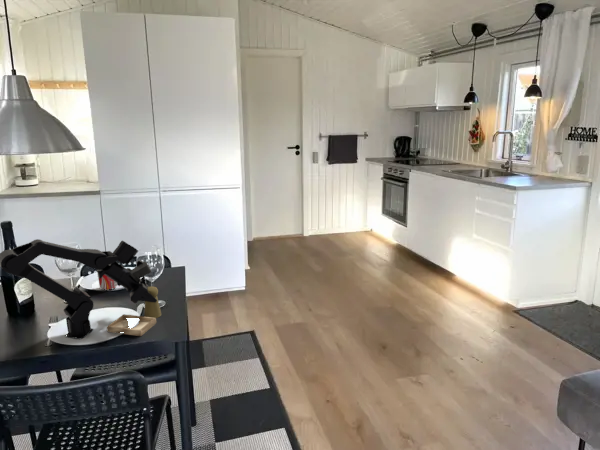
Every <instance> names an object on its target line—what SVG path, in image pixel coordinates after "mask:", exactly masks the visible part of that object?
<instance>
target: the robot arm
mask: <svg viewBox="0 0 600 450" xmlns="http://www.w3.org/2000/svg"><path fill="white" fill-rule="evenodd" d="M138 252H139V250H138V249H137V248H136V247H134V246H132V245H131V244H129V243H127V242H126V241H124V240H121V241H120V242H119V244H118V245H117V247H116V248H115V249H114V250H113V251H111V250H108V251H107V250H106V251H104V250H103V251H101V250H100V249H96V248H95V249H93V248H83V249H82V248H81V249H80V248H74V247H71V246H66V245H61V244H57V243H53V242H49V241H44V240H42V239H33V240H32V241H30V242H28V243H27V242H26V243H25V244H21V245H19V246H16V247H14V248H12V249H5V250H2V251H1V252H0V268H1V269H2V271H3V272H4V273H5V272H6V273H7V274H10V275H12V276H16V277H19V278H24V279H26V280H28V281H30V282H31V283H34V285H37V286H39V287H40V288H41V289H44V290H46V291H47V292H49V293H50V294H52V295H54V296H56V297H57V298H59V299H61V300H62V301H64V302H65V303H66V304H67V305H66V306H65V308H64V309H63V312H64V314H65V315H66V316H67V317H66V318H65V320H66V328H67V333H66V334H65V335H64V337H65V336H66V335H67V337H66V338H70V339H76V340H77V339H79V340H81V339H83V338H85V337H86V336H87V335H90V333H92V332H93V331H94V328H91V321H90V319H89V317H90V314H91V311H92V310H93V309H94V305H95V304H94V301H93V299H91V298H92V296H91V295H89V294H88V293H87V292H86V290H85V291H84V290H81V288H79V287H77V286H75V287H74V288H73V289H72V288H70V287H67V286H65V285H64V284H62V283H60V282H58V281H57V280H55V279H53V278H52V277H51V276H49V275H47V274H45V273H44V272H42V271H40V270H38V269H37V268H35V267H34V266H33V265H32V264H31V262H33V261H34V260H35V259H36V258H38V257H39V256H41V255H44V256H49V257H52V258H53V257H54V258H58V259H63V260H68V261H73V262H78V263H80V264H82V265H85V266H87V267H89V268H92V269H94V270H96V272H97V277H99V278H100V279H101V278H102V277H103V275H106V276H107V277H109V278H110V279H112V280H113V281H115V282H116V283H117V287H120V286H121V287H123V288H124V289H126V292H127V293H129V298H130V301H131V302H132V303H134V304H137V303H138V302H139V301H140V302H145V301H147V302H154V303H155V302H156V301H157V299H156V298H155V297H154V296H153V295H152V294H151V293H149V292H148V287H150V286H149V285H148V284H147V283H146V278H145V276H146V275H149V274H151V273H152V269H151V267H150V265H149V264H148V263H147V261H145V260H140V259H139V260H137V261H136V262H135V263H136V265H135V266H134V267H133V268H132V269H131V268H130V267H127V268H126V267H125V266H123V265H125V264H126V265H128V264H130V263H131V261H132V260H133V259H134V257H135V256H136V255H137V254H138ZM117 261H118V262H117Z"/></svg>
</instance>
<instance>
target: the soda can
mask: <svg viewBox="0 0 600 450" xmlns="http://www.w3.org/2000/svg"><path fill="white" fill-rule="evenodd" d="M97 277H98V276H97ZM98 285H99V289H100V290H103V289H105V290H104V291H106V290H107V291H110V290H109V289H112V288H114V289H116V288H117V287H118V285H117V283H116V282H115V281H113V280H112V279H110V278H109V277H107V276H106V275H103V277H102V278H101V279H100V278H99V277H98ZM112 290H113V289H112Z"/></svg>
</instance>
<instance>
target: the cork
mask: <svg viewBox="0 0 600 450" xmlns="http://www.w3.org/2000/svg"><path fill="white" fill-rule="evenodd" d="M148 292H149V293H151V294H152V295H153V296H154V297H155V298H156V299H157V301H156V302H155V303H154V302H147V301H144V313H143V314H144V316H143V317H152V318H156V319H158V318H159V317H161V316H162V310H161V307H160V302H159V298H158V295H159V289H158V288H157V287H156V286H153V285H152V286H149V287H148Z"/></svg>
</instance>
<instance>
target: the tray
mask: <svg viewBox="0 0 600 450" xmlns="http://www.w3.org/2000/svg"><path fill="white" fill-rule="evenodd" d="M126 318H139V319H140V321H139V324H138V325H137V326H136V327H134V328H131V329H130V328H128V327H129V326H128V321H127V319H126ZM156 325H157V318H152V317H144V316H142V315H141V316H140V315H133V314H122V315H121V316H119V317H118V318H116V319H115V320H114V321H113V322H111V323H110V324H108V325H107V326H106V331H107V333H112V334H113V333H114V334H120V332H124V334H123V335H128V336H137V337H143V335H145V334H146V333H147V332H148V331H150V329H152V328H153V327H154V326H156Z"/></svg>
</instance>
